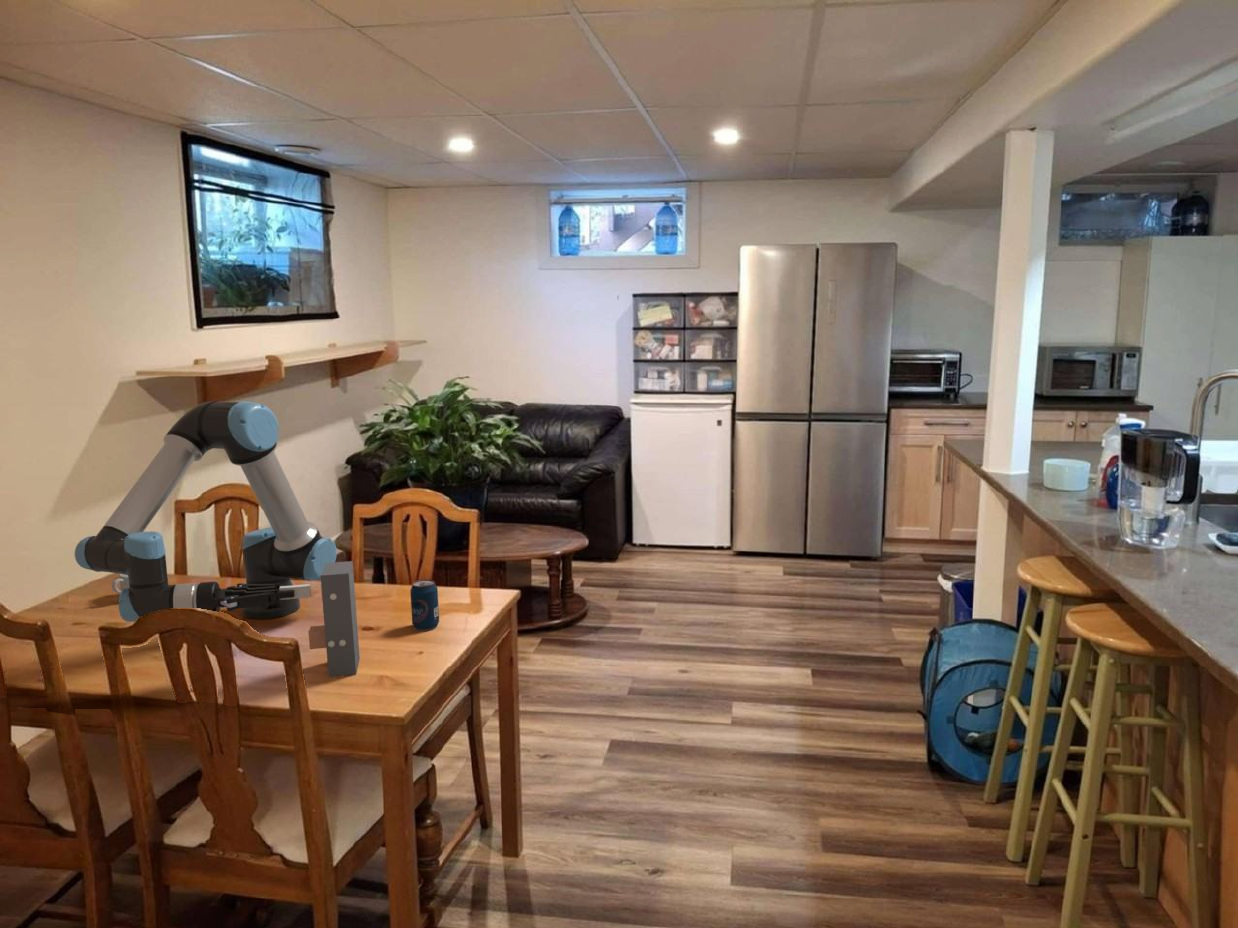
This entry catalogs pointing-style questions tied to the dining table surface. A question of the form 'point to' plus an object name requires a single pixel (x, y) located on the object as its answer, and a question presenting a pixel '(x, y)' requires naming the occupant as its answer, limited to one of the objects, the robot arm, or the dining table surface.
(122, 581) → the teacup
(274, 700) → the dining table surface
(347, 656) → the post
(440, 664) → the dining table surface
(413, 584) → the soda can
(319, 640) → the brown cube
